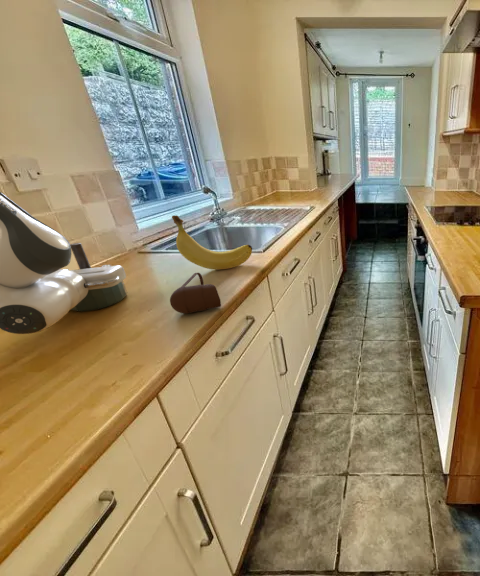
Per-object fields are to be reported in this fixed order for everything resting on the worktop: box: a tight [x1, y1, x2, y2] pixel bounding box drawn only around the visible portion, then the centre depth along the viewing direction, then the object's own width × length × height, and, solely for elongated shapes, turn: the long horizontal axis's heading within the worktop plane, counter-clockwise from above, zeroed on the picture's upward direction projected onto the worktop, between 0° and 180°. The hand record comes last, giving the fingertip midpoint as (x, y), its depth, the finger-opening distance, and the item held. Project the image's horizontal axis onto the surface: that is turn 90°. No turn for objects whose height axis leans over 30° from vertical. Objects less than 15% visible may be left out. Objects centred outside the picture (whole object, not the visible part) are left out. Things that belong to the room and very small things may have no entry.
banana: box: [171, 215, 253, 270], centre depth 109 cm, size 23×6×20 cm, turn 122°
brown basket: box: [169, 272, 222, 314], centre depth 87 cm, size 18×12×7 cm, turn 23°
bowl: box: [69, 280, 128, 312], centre depth 88 cm, size 13×13×7 cm
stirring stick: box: [70, 242, 92, 269], centre depth 86 cm, size 2×2×16 cm
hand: (87, 269), depth 86 cm, fingers open, 8 cm apart
